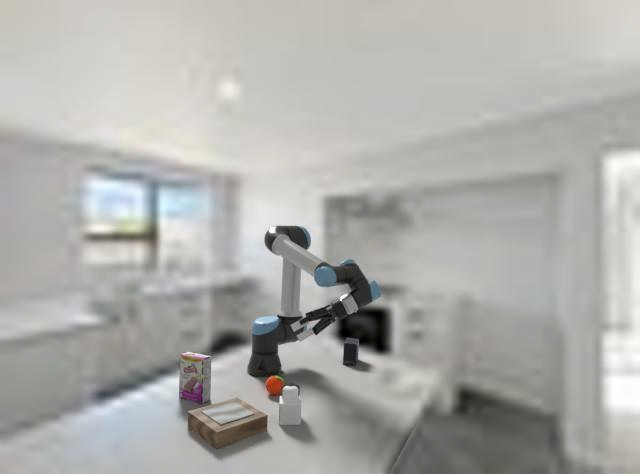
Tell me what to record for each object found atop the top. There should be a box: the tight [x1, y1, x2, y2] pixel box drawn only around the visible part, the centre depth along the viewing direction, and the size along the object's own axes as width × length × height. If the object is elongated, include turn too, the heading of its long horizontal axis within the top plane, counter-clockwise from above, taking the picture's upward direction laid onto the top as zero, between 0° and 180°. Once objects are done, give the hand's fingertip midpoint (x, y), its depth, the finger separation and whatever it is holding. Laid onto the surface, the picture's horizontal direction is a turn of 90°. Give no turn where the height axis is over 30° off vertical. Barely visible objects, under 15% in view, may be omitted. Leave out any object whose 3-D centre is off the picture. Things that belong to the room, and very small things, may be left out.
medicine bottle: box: [278, 382, 302, 426], centre depth 145 cm, size 7×7×12 cm
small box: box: [342, 337, 360, 367], centre depth 210 cm, size 11×6×10 cm, turn 168°
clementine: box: [265, 375, 286, 395], centre depth 168 cm, size 8×7×7 cm
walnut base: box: [187, 397, 269, 450], centre depth 138 cm, size 18×18×5 cm
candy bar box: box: [178, 351, 212, 404], centre depth 161 cm, size 11×5×16 cm, turn 65°
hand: (295, 333), depth 165 cm, fingers open, 13 cm apart
